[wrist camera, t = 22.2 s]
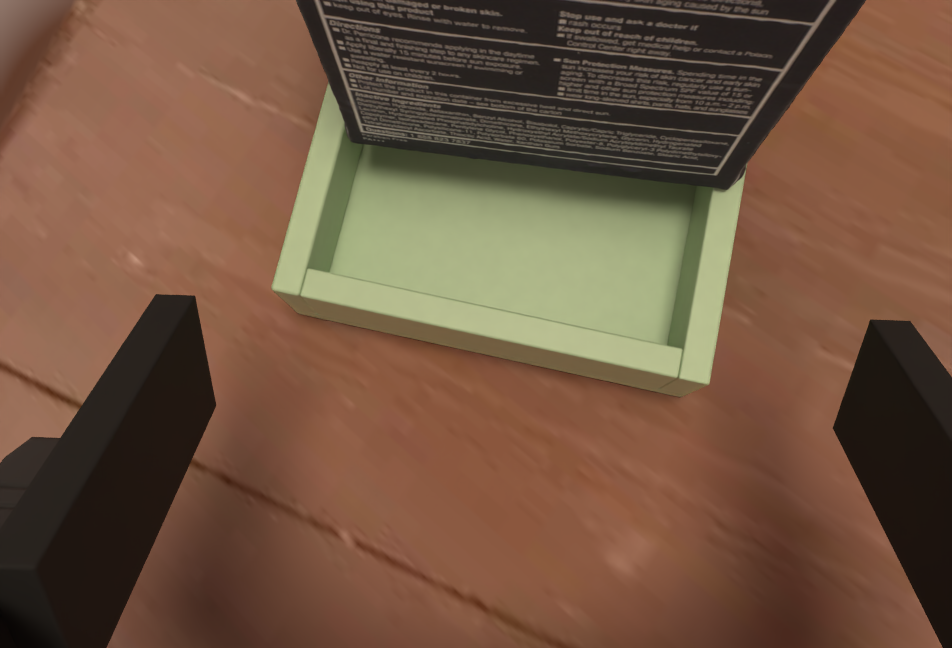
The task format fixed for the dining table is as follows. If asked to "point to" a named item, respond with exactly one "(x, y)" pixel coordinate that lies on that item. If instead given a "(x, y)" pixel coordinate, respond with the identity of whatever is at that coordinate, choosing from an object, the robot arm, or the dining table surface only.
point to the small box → (575, 78)
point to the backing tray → (512, 259)
